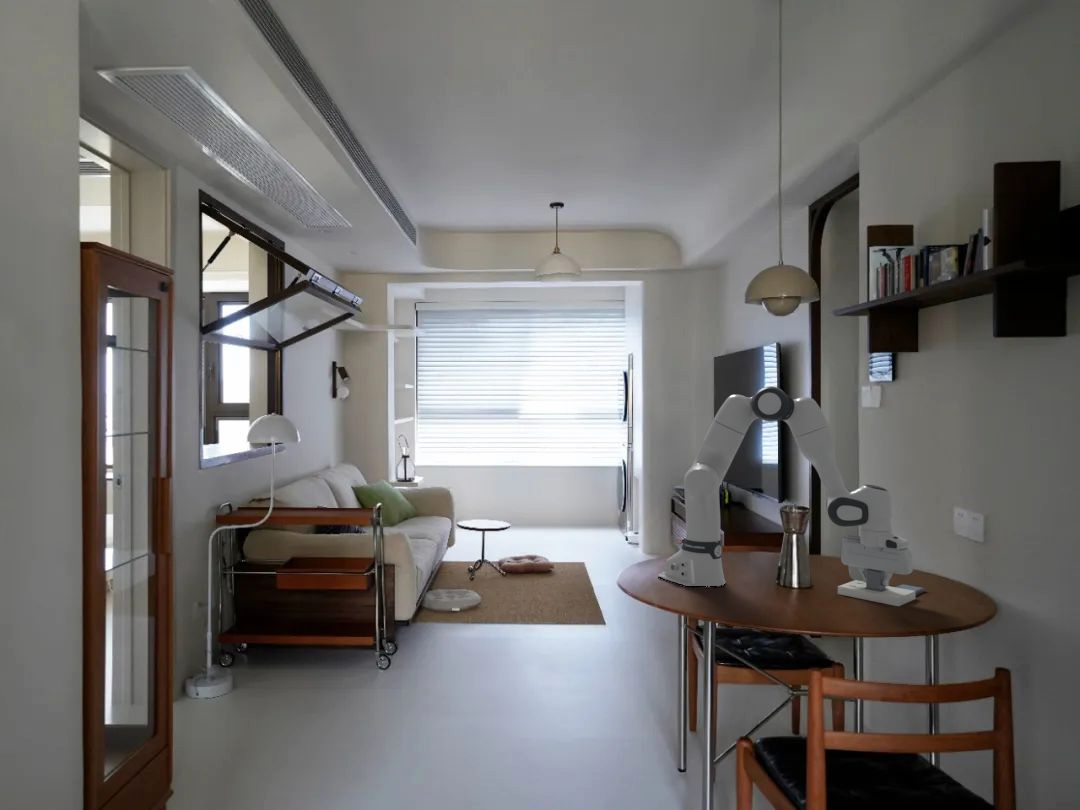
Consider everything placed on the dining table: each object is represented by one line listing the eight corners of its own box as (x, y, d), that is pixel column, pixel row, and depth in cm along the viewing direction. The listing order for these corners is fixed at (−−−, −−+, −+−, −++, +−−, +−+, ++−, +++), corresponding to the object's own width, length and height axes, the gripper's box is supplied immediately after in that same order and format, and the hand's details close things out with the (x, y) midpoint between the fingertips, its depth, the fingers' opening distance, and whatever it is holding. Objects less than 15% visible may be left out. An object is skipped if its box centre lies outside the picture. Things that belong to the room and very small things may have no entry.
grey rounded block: (890, 586, 226) (890, 561, 226) (856, 586, 226) (856, 561, 226) (870, 576, 240) (869, 552, 240) (838, 576, 240) (838, 552, 240)
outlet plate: (837, 594, 217) (837, 585, 217) (855, 587, 225) (855, 579, 225) (898, 606, 204) (898, 597, 204) (915, 599, 211) (915, 590, 211)
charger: (866, 592, 215) (866, 569, 215) (872, 590, 217) (872, 567, 217) (879, 595, 212) (879, 571, 212) (885, 593, 214) (885, 569, 214)
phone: (887, 593, 218) (887, 589, 218) (901, 587, 225) (901, 583, 225) (910, 597, 213) (910, 594, 213) (925, 591, 220) (925, 587, 220)
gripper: (837, 535, 220) (837, 579, 220) (906, 544, 205) (906, 592, 205) (846, 532, 224) (846, 576, 224) (915, 542, 209) (915, 589, 209)
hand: (875, 584), depth 214 cm, fingers open, 4 cm apart
